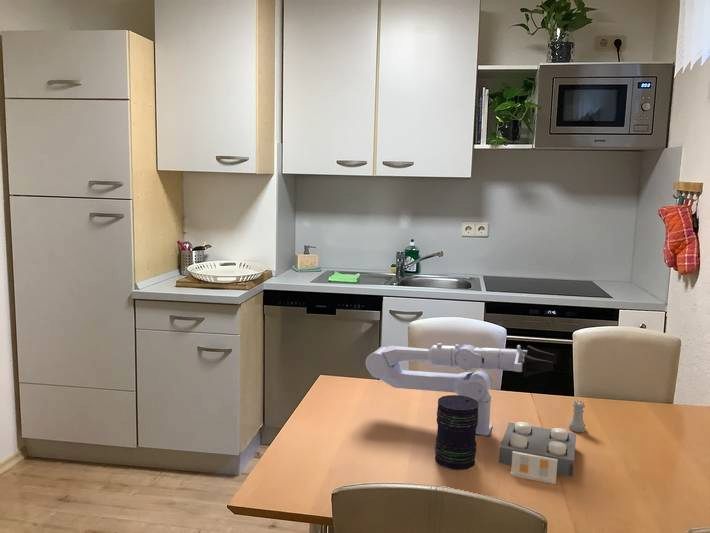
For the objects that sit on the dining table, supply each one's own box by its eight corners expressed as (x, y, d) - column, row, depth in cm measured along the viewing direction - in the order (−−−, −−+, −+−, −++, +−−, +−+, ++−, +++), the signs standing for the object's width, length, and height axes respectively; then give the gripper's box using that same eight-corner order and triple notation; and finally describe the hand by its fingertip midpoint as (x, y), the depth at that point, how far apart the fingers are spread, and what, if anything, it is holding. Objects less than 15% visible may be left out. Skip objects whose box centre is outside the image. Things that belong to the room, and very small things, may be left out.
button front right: (547, 459, 146) (548, 446, 146) (548, 452, 150) (549, 440, 150) (564, 462, 145) (565, 449, 144) (565, 455, 149) (566, 443, 148)
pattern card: (510, 475, 142) (511, 454, 142) (512, 470, 145) (513, 449, 144) (555, 484, 139) (557, 462, 138) (556, 478, 142) (557, 457, 141)
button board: (498, 462, 149) (499, 447, 148) (508, 436, 164) (509, 422, 164) (572, 476, 143) (574, 460, 142) (575, 448, 158) (576, 433, 158)
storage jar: (450, 473, 142) (453, 412, 140) (426, 456, 151) (429, 398, 149) (484, 465, 147) (487, 406, 145) (459, 449, 156) (462, 392, 154)
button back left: (513, 438, 158) (514, 426, 157) (515, 432, 162) (516, 420, 161) (529, 441, 156) (530, 429, 156) (531, 435, 160) (531, 423, 160)
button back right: (549, 444, 155) (550, 432, 154) (551, 438, 158) (551, 426, 158) (566, 447, 153) (567, 435, 153) (567, 441, 157) (568, 429, 156)
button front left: (508, 452, 150) (509, 439, 149) (510, 445, 153) (511, 433, 153) (525, 455, 148) (526, 442, 148) (527, 448, 152) (528, 436, 151)
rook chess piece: (586, 433, 168) (588, 405, 167) (569, 431, 169) (571, 404, 168) (583, 427, 172) (586, 400, 171) (567, 425, 173) (569, 398, 172)
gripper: (496, 351, 157) (551, 354, 152) (504, 338, 170) (555, 340, 165) (496, 377, 158) (551, 382, 153) (504, 363, 171) (555, 366, 166)
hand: (553, 362), depth 159 cm, fingers open, 7 cm apart
